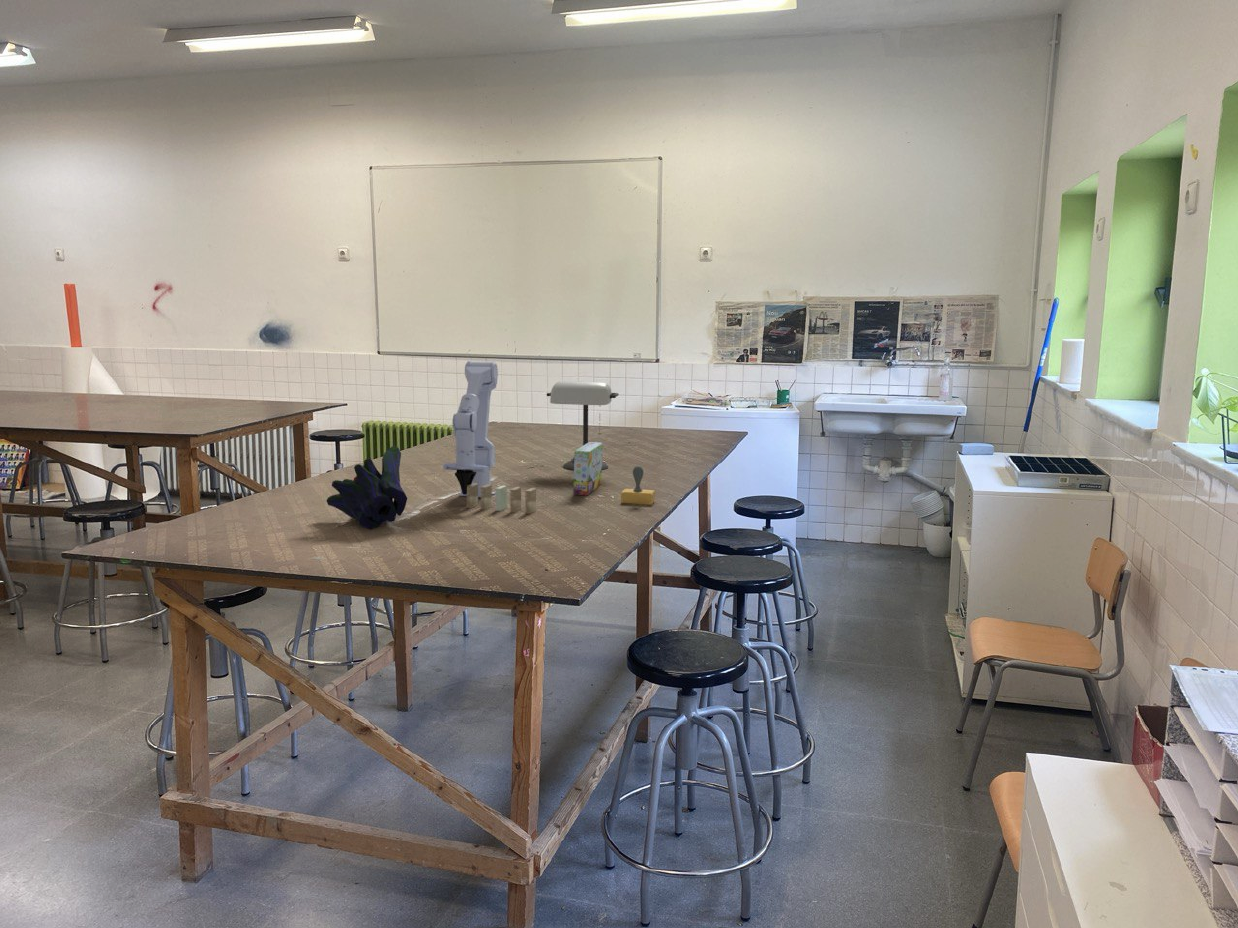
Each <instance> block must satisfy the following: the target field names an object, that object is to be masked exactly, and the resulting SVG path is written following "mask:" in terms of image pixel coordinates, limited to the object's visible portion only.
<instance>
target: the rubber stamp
mask: <svg viewBox="0 0 1238 928" xmlns="http://www.w3.org/2000/svg"><path fill="white" fill-rule="evenodd" d="M632 475H633V479H634V481H635V488H624V489H623V490H622V491H621V496H620V498H621V501H620V503H621V504H629V503H631V504H632V505H634V504H635V505H648V506H653V504H654V502H655V496H656V495H655V490H654V489H642V488H641V486H640V485H641V482H642V479H643V478H644V477H643V476H644V468H643V467H642V466H641V465H636V466H634V467H633V469H632Z"/></svg>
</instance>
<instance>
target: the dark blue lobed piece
mask: <svg viewBox="0 0 1238 928" xmlns="http://www.w3.org/2000/svg"><path fill="white" fill-rule="evenodd" d="M401 457H402V452H401V450H400V448H399V447H398V446H397V445H392V446H391V447H389V448H388V449H387V450H386V451H385V452H384V453H383V456H382V459H381V465H382V466H381V472H379V470H378V469H377V467H376V466H375V463H374V462H373V460H372V459H371V458H369V459H368V458H366V459H365V460H363V465H362V464H360V463H358V464H356V465H354V467H353V469H354V472H355V475H356V476H354V477H353V479H349V478H345V479H343V480H338V479H337V480H333V481H332V482H331V486H332V488H334V489H335V490H336V491H337V493H336V494H332V495H331V496H328V497H327V499H325V500H326V502H327V505H328V506H329V507H332V508H335V509H337V510H339V511H341V512H342V513H344V514H345V515H347V516H348V517H350V518H351V519H353V520H354V521H356V522H358V523H359V525H360V526H361V527H363V528H366V529H369V530H373V529H376V528H378V527H379V526H381V525H383V524H384V523H386V522H389V523H393V522H395V521H396V517H397V516H398V517H400V516H401V515H402V514H403V512H404V510H405V509H406V506H407V501H408V497H407V495H406V493H405V491H404V490H403V488H402V486H401V483H400V482H401V477H400V467H401V466H400V465H401V459H402V458H401Z"/></svg>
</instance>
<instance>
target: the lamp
mask: <svg viewBox="0 0 1238 928" xmlns="http://www.w3.org/2000/svg"><path fill="white" fill-rule="evenodd" d="M619 395H620V394H619V393H618V392H612V388H611V386H610V385H609V384H608V383H607V382H601V381H600V382H598V381H558V382H555V383H554V384H553V385H552V388H551V391H550V392H547V393H546V397H549V398H550V400H549V403H550V404H553V405H576V406H577V405H580V406H581V405H582V406H583V407H582V410H583V412H582V413H583V414H582V418H583V419H582V420H583V421H582V422H583V423H582V446H584V445H585V444H587V443H588V442H589V406H606V405H609V404H610V403H612V399H615V398H617V397H618V396H619ZM598 419H599V420H601V414H599V418H598ZM598 430H599V432H598V434H597V436H601V435H602V432H601V424H599V428H598ZM562 468H563V469H564V470H569V471H574V457H573V458H571V460H569V461H567V462H565V463H564V464H563V465H562ZM608 468H609V465H608V464H607V463H605V462H604V461H602V471H603V470H608Z"/></svg>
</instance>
